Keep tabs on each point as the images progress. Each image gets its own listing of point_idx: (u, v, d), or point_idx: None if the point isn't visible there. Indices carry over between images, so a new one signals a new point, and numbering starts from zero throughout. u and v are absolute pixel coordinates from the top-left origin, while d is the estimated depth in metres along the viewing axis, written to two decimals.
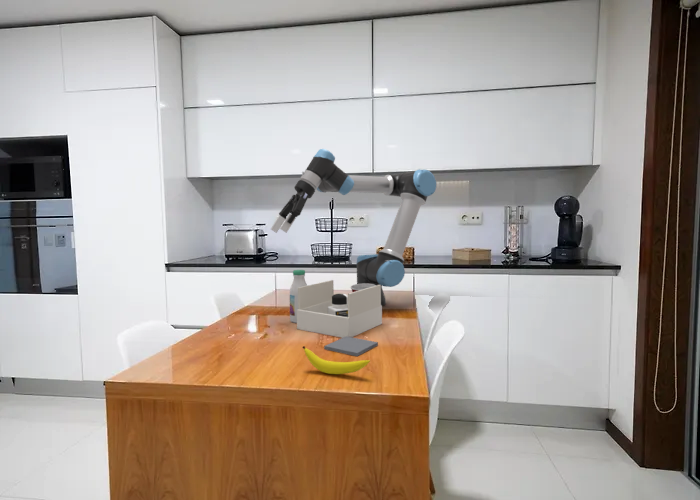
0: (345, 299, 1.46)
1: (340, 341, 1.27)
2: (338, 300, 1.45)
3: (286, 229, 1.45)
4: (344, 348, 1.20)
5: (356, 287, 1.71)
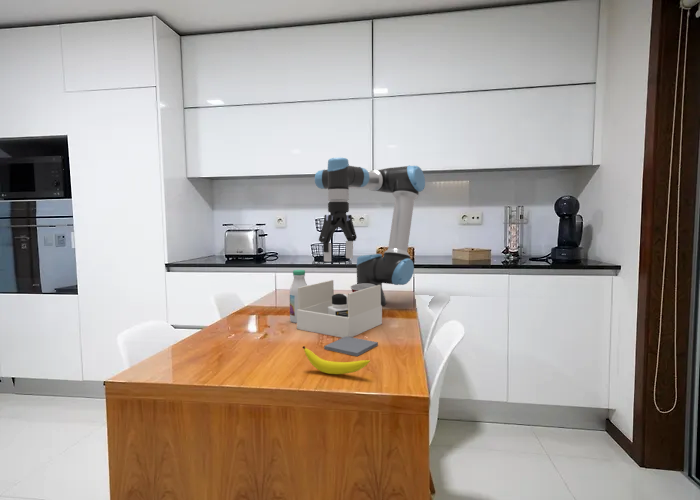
0: (345, 299, 1.46)
1: (340, 341, 1.27)
2: (338, 300, 1.45)
3: (328, 258, 1.41)
4: (344, 348, 1.20)
5: (356, 287, 1.71)
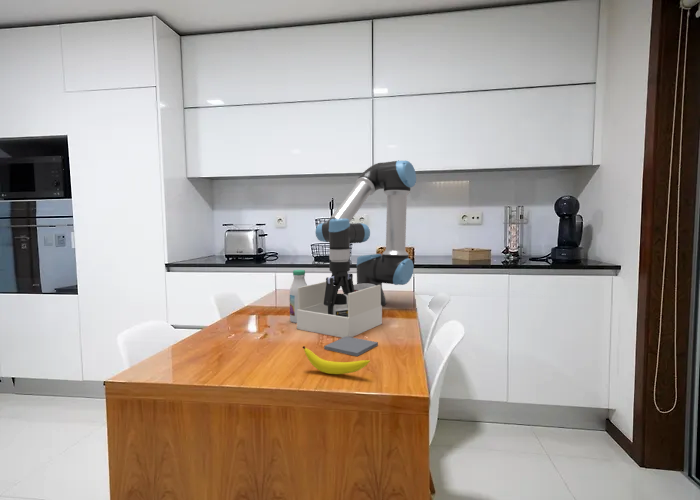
0: (345, 299, 1.46)
1: (340, 341, 1.27)
2: (338, 300, 1.45)
3: None
4: (344, 348, 1.20)
5: (356, 287, 1.71)
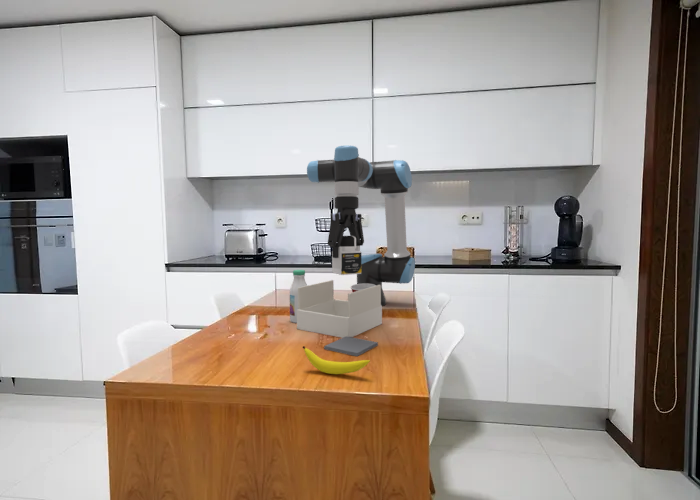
0: (352, 240, 1.25)
1: (340, 341, 1.27)
2: (345, 241, 1.25)
3: (338, 265, 1.23)
4: (344, 348, 1.20)
5: (356, 287, 1.71)
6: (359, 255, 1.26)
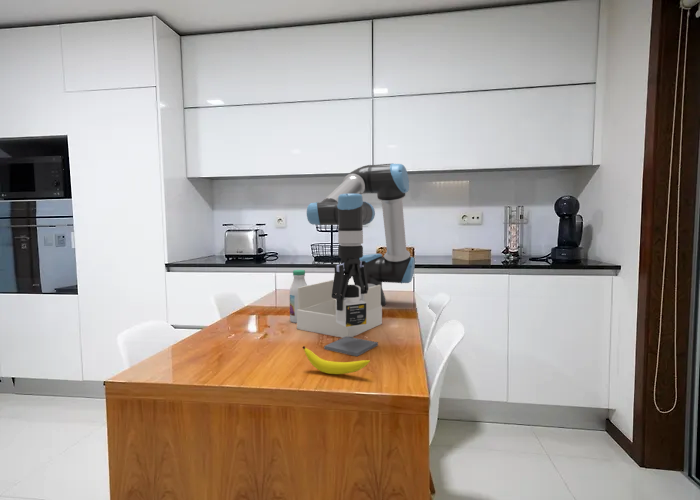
0: (357, 290, 1.21)
1: (340, 341, 1.27)
2: (349, 292, 1.20)
3: (342, 318, 1.19)
4: (344, 348, 1.20)
5: None
6: (363, 306, 1.22)
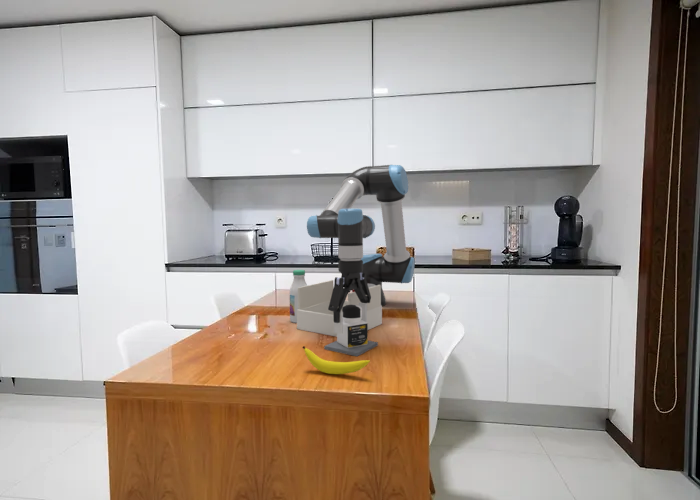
0: (358, 311, 1.22)
1: None
2: (351, 313, 1.21)
3: (339, 330, 1.18)
4: (344, 348, 1.20)
5: None
6: (365, 327, 1.23)
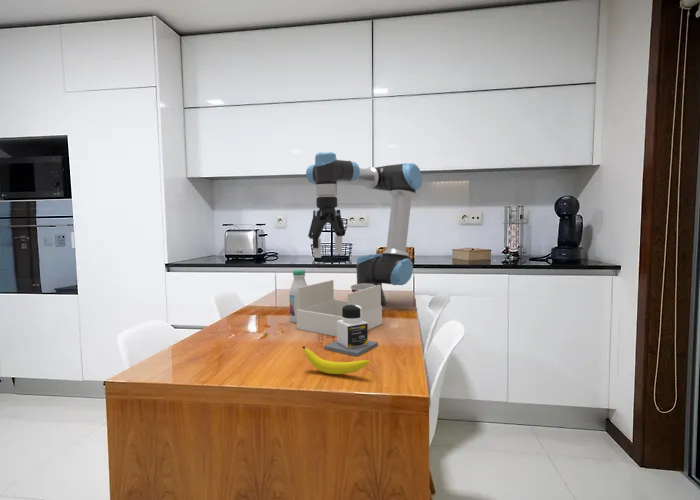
0: (358, 311, 1.22)
1: None
2: (351, 313, 1.21)
3: (318, 254, 1.40)
4: (344, 348, 1.20)
5: (356, 287, 1.71)
6: (365, 327, 1.23)
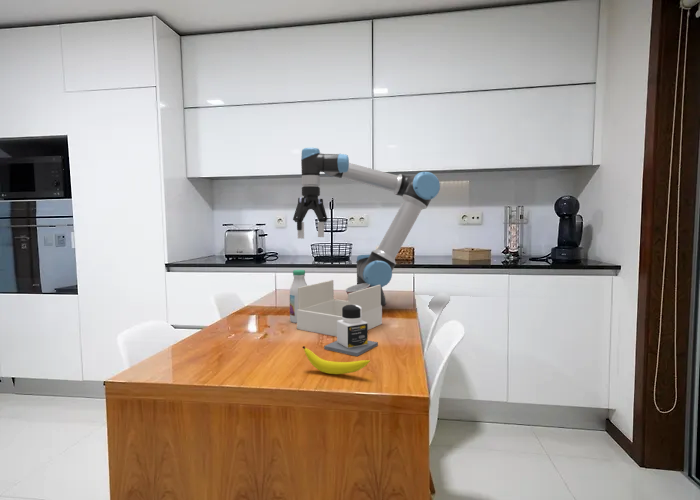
0: (358, 311, 1.22)
1: None
2: (351, 313, 1.21)
3: (301, 236, 1.61)
4: (344, 348, 1.20)
5: (351, 289, 1.72)
6: (365, 327, 1.23)
